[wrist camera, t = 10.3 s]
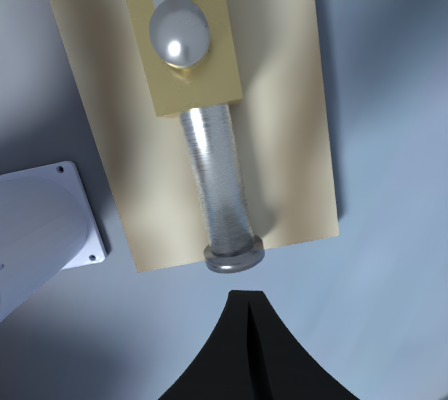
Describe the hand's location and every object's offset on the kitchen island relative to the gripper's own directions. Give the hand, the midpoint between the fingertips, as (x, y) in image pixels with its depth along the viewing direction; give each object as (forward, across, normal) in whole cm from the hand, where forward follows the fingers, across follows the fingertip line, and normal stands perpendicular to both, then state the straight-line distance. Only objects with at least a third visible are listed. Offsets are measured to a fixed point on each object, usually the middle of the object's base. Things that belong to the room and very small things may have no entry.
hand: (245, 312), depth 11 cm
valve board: (+10, +3, -11) cm, 15 cm away
